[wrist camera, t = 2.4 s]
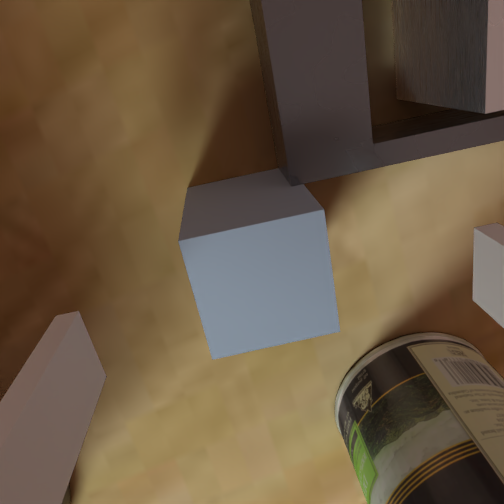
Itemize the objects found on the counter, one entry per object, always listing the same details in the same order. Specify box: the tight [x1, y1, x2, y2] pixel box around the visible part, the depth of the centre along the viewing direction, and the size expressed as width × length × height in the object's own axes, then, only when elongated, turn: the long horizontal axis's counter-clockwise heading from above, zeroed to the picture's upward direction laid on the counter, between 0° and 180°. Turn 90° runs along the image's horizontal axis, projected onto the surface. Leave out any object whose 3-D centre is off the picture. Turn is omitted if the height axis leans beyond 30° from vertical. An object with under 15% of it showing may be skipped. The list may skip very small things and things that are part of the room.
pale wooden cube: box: [391, 0, 504, 114], centre depth 16 cm, size 5×5×7 cm
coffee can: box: [335, 332, 504, 504], centre depth 21 cm, size 10×10×14 cm
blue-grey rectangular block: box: [178, 168, 340, 360], centre depth 19 cm, size 5×5×7 cm
